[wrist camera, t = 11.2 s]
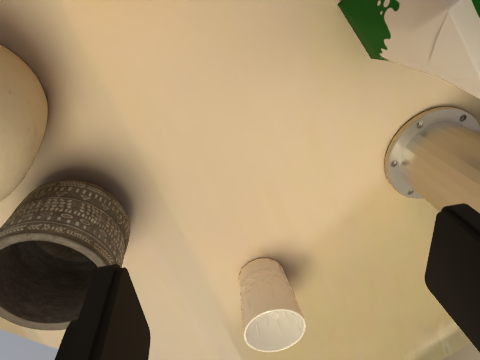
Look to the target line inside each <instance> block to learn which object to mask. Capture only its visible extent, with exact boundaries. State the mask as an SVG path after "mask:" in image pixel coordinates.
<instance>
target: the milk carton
mask: <svg viewBox="0 0 480 360" xmlns="http://www.w3.org/2000/svg"><path fill="white" fill-rule="evenodd" d="M338 6H339V7H340V9H341V11H342V12H343V14H344V15H345V17H346V19H347V20H348V22H349V23H350V25H351V27H352V28H353V30H354V32H355V33H356V35H357V36H358V38H359V40H360V41H361V43H362V44H363V46H364V48H365V49H366V51H367V52H368V54H369V56H370V57H371V58H372V59H379V60H386V61H391V62H394V63H397V64H400V65H404V66H407V67H410V68H413V69H416V70H419V71H422V72H425V73H428V74H431V75H434V76H437V77H439V78H441V79H443V80H445V81H447V82H449V83H451V84H453V85H454V86H456V87H458V88H460V89H462V90H464V91H466V92H467V93H469V94H471V95H473V96H475V97H476V98H478V99H480V0H342V1H341V2H340V3H339V4H338Z"/></svg>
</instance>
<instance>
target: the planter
mask: <svg viewBox="0 0 480 360" xmlns="http://www.w3.org/2000/svg"><path fill="white" fill-rule="evenodd" d="M129 236H130V223H129V219H128V216H127V214H126V212H125V210H124V208H123V207H122V205H121V204H120V203H119V201H118V200H117V199H116V198H115V197H114V196H113V195H112V194H111V193H109V192H108V191H107V190H105V189H104V188H102V187H100V186H98V185H96V184H93V183H89V182H85V181H77V180H65V181H57V182H52V183H48V184H45V185H43V186H40V187H38V188H37V189H35V190H34V191H32V192H31V193H30V194H29V195H28V196H27V197H26V198H25V199H24V200H23V201H22V202H21V203H20V204H19V206H18V207H17V208H16V209H15V211H14V212H13V214H12V215H11V216H10V217H9V219H8V220H7V221H6V222H5V223H4V224H3V226H2V227H1V228H0V316H1V317H2V318H4V319H6V320H8V321H10V322H12V323H14V324H17V325H20V326H23V327H27V328H31V329H38V330H63V329H67V327H68V325H69V323H70V322H71V321H72V320H75V319H78V317H79V314H80V311H81V308H82V306H83V303H84V300H85V297H86V294H87V291H88V289H89V286H90V283H91V280H92V277H93V274H94V272H95V270H96V268H97V267H101V266H107V265H113V264H119V266H120V267H122V263H123V259H124V255H125V252H126V249H127V245H128V241H129Z"/></svg>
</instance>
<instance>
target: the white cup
mask: <svg viewBox="0 0 480 360" xmlns="http://www.w3.org/2000/svg"><path fill="white" fill-rule="evenodd" d="M239 283H240V301H241V313H242V322H243V332H244V339H245V341H246V343H247V344H248V345H249V346H250V347H251V348H253V349H255V350H258V351H262V352H276V351H281V350H284V349H286V348H289V347H291V346H292V345H294V344H295V343H297V342H298V341H299V340H300V339H301V338H302V336H303V335H304V333H305V329H306V323H305V320H304V317H303V315H302V313H301V310H300V308H299V305H298V303H297V300H296V298H295V295H294V293H293V291H292V289H291V286H290V284H289V282H288V280H287V278H286V276H285V273H284V271H283V268H282V267H281V265H280V264H279V263H278V262H277V261H275V260H272V259H269V258H261V259H256V260H253V261H251V262H249V263H247V264H246V265H245V266H244V267H243V268H242V269H241V272H240V275H239Z"/></svg>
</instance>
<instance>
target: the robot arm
mask: <svg viewBox="0 0 480 360" xmlns="http://www.w3.org/2000/svg"><path fill="white" fill-rule="evenodd" d="M385 173H386V177H387V179H388V181H389V183H390V184H391V185H392V186H393V187H394V188H395V190H397V191H398V192H399V193H401V194H402V195H404V196H406V197H410V198H424V199H426V200H427V201H428V202H429V203H430V204H431V205H433V206H434V207H435V208H436V209H437V210H438V211H440V212H439V213H438V214H437V216H436V221H435V226H434V232H433V237H432V242H431V247H430V252H429V257H428V262H427V268H426V273H425V283H426V285H427V287H428V289H429V290H430V292H431V293H432V294H433V295H434V296H435V298H436V299H437V300H438V301H439V303H440V304H441V305H442V306H443V308H444V309H445V310H446V311H447V313H448V314H449V315H450V316H451V317H452V319H453V320H454V321H455V322H456V324H457V325H458V326H459V327H460V329H461V330H462V331H463V332H464V333H465V335H466V336H467V337H468V338H469V340H470V341H471V342H472V343H473V345H474V346H475V347H476V348H477V350H478V351H479V352H480V125H479V123H478V121H477V120H476V119H475V117H473V116H472V115H471V114H469V113H468V112H466V111H463V110H461V109H458V108H454V107H439V108H433V109H430V110H428V111H425V112H423V113H421V114H419V115H417V116H415V117H414V118H413V119H411V120H410V121H409V122H407V123H406V124H405V125H404V126H403V127H402V128H401V129H400V130H399V131H398V133H397V134H396V135H395V137H394V138H393V140H392V142H391V143H390V145H389V147H388V150H387V153H386V157H385ZM149 348H150V330H149V327H148V324H147V321H146V319H145V316H144V313H143V311H142V308H141V305H140V302H139V300H138V297H137V294H136V292H135V289H134V286H133V284H132V281H131V278H130V276H129V273H128V270H127V269H126V268H121V267H120V266H119V264H113V265H107V266H101V267H97V268H96V270H95V272H94V274H93V277H92V280H91V283H90V286H89V289H88V291H87V294H86V297H85V300H84V303H83V306H82V308H81V311H80V314H79V317H78V319H75V320H72V321H71V322H70V323H69V325H68V327H67V329H66V331H65V334H64V337H63V339H62V342H61V344H60V347H59V350H58V352H57V355H56V358H55V360H148V356H149Z"/></svg>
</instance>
